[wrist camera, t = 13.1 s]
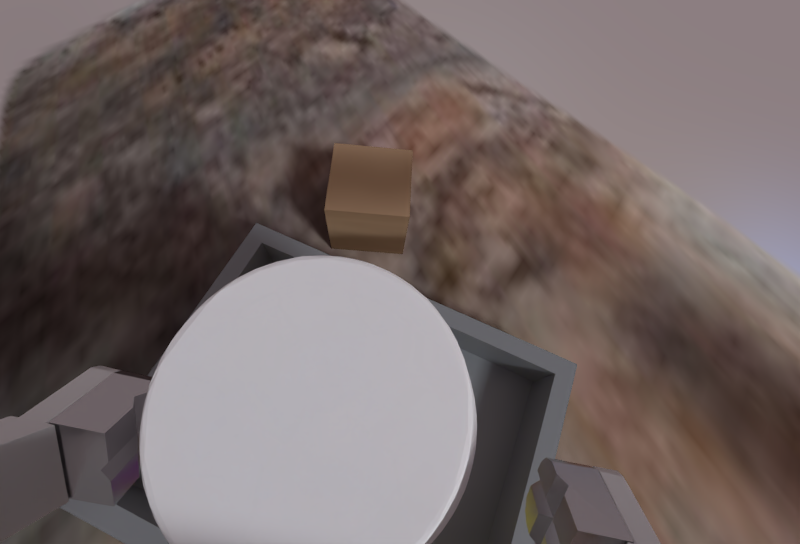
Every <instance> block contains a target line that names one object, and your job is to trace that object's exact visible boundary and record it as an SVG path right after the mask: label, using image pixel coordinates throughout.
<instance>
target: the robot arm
mask: <svg viewBox="0 0 800 544" xmlns="http://www.w3.org/2000/svg"><path fill="white" fill-rule="evenodd" d="M151 380H152V377H150V376H146V375H142V374H137V373H133V372H129V371H124V370H122V371H121V370H117V369H113V368H109V367H105V366H96V367H91V368H89V369H88V370H87V371H85V372H84V373H82V374H81V375H79V376H78V377H76V378H75V379H74V380H72V381H71V382H69V383H68V384H66V385H65V386H63V387H62V388H61V389H59V390H58V391H56V392H55V393H53V394H52V395H50V396H49V397H48V398H46V399H45V400H43V401H42V402H40V403H39V404H37V405H36V406H35V407H33V408H32V409H30V410H29V411H27V412H26V413H24V414H23V415H22V416H20V417H13V416H9V417H6V418H3V419H0V542H1V541H3V540H5V539H6V538H8V537H10V536H11V535H13V534H15V533H17V532H18V531H20V530H22V529H23V528H25V527H27V526H28V525H30V524H32V523H33V522H35V521H37V520H39V519H40V518H42V517H44V516H45V515H47V514H49V513H50V512H52V511H54V510H55V509H57V508H59V507H61V506H62V505H64V504H66V503H67V502H68V501H69V499H73V500H79V501H85V502H90V503H96V504H102V505H108V506H115V505H116V504H117V502H118V501H119V500H120V499H121V498H122V497H123V495H124V494H125V493H126V492H127V491H128V489H129V488H130V487H131V486H132V485H133V484H134V482H135V481H136V480H137V479H138V478H139V477H140V452H139V438H140V425H141V418H142V411H143V407H144V403H145V398H146V395H147V392H148V388H149V385H150V382H151ZM537 471H538V474H539V477H540V480H539V481H537V482H536V483H534V484H532V485H531V486H530V489H529V492H528V494H527V497H526V508H525V514H526V524H527V528H528V532H529V535H530V537H531V538H532V539H533V540H534V542H535V543H536V544H661V543H660V541H659V539H658V538H657V536H656V534H655V532H654V530H653V529H652V527H651V525H650V523H649V522H648V520H647V518H646V516H645V514H644V513H643V511H642V509H641V507H640V505H639V504H638V502H637V500H636V498H635V497H634V495H633V493H632V491H631V489H630V488H629V486H628V484H627V482H626V480H625V479H624V477H623V476H622V475H621V474H620V473H619V472H618V471H615V470H610V469H605V468H599V467H594V466H593V467H591V466H588V465H583V464H577V463H572V462H567V461H562V460H557V459H552V458H547V457H546V458H545V459H544V460H542V461H541V463H540V466H539V468H538V470H537Z"/></svg>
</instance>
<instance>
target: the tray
mask: <svg viewBox="0 0 800 544" xmlns="http://www.w3.org/2000/svg"><path fill="white" fill-rule="evenodd" d="M317 255H326V256H330V255H328V254H326V253H324V252H321V251H319V250H317V249H315V248H312V247H310V246H308V245H305V244H303V243H301V242H299V241H296V240H294V239H292V238H290V237H287V236H285V235H283V234H281V233H278V232H276V231H274V230H271V229H269V228H267V227H265V226H262V225H260V224H258V223H256V224H255V225H254V227H253V228H252V230H251V231H250V232H249V234H248V235H247V237H246V238H245V239H244V241H243V242H242V244H241V245H240V246H239V248H238V249H237V251H236V252H235V253H234V255H233V256H232V258H231V259H230V260H229V262H228V263H227V265H226V266H225V267H224V269H223V270H222V272H221V273H220V274H219V276H218V277H217V279H216V280H215V281H214V283H213V284H212V286H211V287H210V289H209V290H208V291H207V293H206V294H205V296H204V297H203V298H202V300H201V301H200V303H199V304H198V305H197V307H196V308H195V310H194V311H193V312H192V314H193V313H194V312H195V311H196V310H197V309H198V308H199V307H200V306H201V305H202V304H203V303H204V302H205V301H206V300H207V299H209V298H210V297H211V296H212V295H214V294H215V293H216V292H217V291H219V290H220V289H221V288H223V287H224V286H225V285H227V284H228V283H230V282H232V281H233V280H235V279H236V278H238V277H240V276H242V275H244V274H246V273H248V272H250V271H252V270H254V269H257V268H260V267H263V266H265V265H268V264H271V263H274V262H277V261H281V260H286V259H291V258H295V257H301V256H317ZM427 299H428V298H427ZM428 300H429V301H430V302H431V303H432V305H433V306H434V307H435V308H436V309H437V311H438V312H439V313H440V315H441V316H442V318H443V319H444V320H445V322H446V323H447V324H448V326H449V327H450V329H451V331H452V333H453V334H454V336H455V338H456V340H457V342H458V345H459V347H460V350H461V352H462V354H463V357H464V359H465V363H466V366H467V370H468V374H469V377H470V380H471V384H472V389H473V393H474V397H475V405H476V414H477V439H476V450H475V455H474V461H473V465H472V469H471V473H470V477H469V480H468V483H467V486H466V489H465V492H464V494H463V496H462V498H461V500H460V502H459V504H458V506H457V508H456V510H455V512H454V514H453V515H452V517H451V519H450V520H449V521H448V523H447V524H446V526H445V527H444V529H443V530H442V532H441V533H440V534H439V535H438V536H437V538H436V539H435V540H434V541H433V542H432V543H431V544H535V542H534V540H533V539H532V538H531V537H530V535H529V532H528V528H527V524H526V514H525V508H526V497H527V494H528V492H529V489H530V486H531V485H532V484H534V483H536V482H537V481H539V480H540V477H539V474H538V471H537V470H538V468H539V466H540V463H541V461H542V460H544V459H545V458H546V457H547V458H552V459H555V456H556V452H557V448H558V443H559V439H560V435H561V431H562V427H563V422H564V418H565V414H566V410H567V405H568V401H569V397H570V393H571V389H572V384H573V380H574V376H575V372H576V367H577V364H575V363H573V362H571V361H568V360H566V359H564V358H562V357H559V356H557V355H555V354H553V353H550V352H548V351H546V350H543V349H541V348H539V347H537V346H534V345H532V344H530V343H528V342H525V341H523V340H521V339H519V338H516V337H514V336H512V335H509V334H507V333H505V332H503V331H500V330H498V329H496V328H494V327H491V326H489V325H487V324H485V323H482V322H480V321H478V320H475V319H473V318H471V317H469V316H466V315H464V314H462V313H460V312H457V311H455V310H453V309H451V308H448V307H446V306H444V305H441V304H439V303H437V302H435V301H432V300H430V299H428ZM192 314H191V315H192ZM191 315H190V317H191ZM190 317H189V318H190ZM189 318H188V319H189ZM188 319H187V320H188ZM186 322H187V321H186ZM186 322H185V323H186ZM165 351H166V350H165ZM163 354H164V353H163ZM163 354H162V356H163ZM162 356H161V357H162ZM161 357H160V359H161ZM160 359H159V360H158V361H157V363H156V364H155V366H154V367H153V368H152V370H151V371H150V373H149V374H148V375H147V376H150V377H153V375H154V373H155V370H156V368H157V366H158V364H159V361H160ZM60 508H62V509H64V510H65V511H67V512H69V513H71V514H73V515H74V516H76V517H78V518H80V519H82V520H83V521H85V522H87V523H89V524H91V525H92V526H94V527H96V528H98V529H100V530H101V531H103V532H105V533H107V534H109V535H110V536H112V537H114V538H116V539H118V540H119V541H121V542H123V543H125V544H169V543H168V541H167V540H166V538H165V537H164V535H163V534H162V532H161V530H160V528H159V526H158V525H157V523H156V521H155V519H154V516H153V514H152V511H151V508H150V506H149V503H148V499H147V496H146V493H145V490H144V487H143V482H142V475H141V468H140V477H139V478H138V479H137V480H136V481H135V482H134V484H133V485H132V486H131V487H130V488H129V489H128V491H127V492H126V493H125V494H124V495H123V497H122V498H121V499H120V500H119V501H118V502H117V504H116V505H115V506H108V505H102V504H96V503H90V502H85V501H79V500H73V499H69V501H68V502H67V503H66V504H64V505H62V506H61V507H60Z"/></svg>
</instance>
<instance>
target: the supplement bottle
mask: <svg viewBox="0 0 800 544" xmlns="http://www.w3.org/2000/svg"><path fill="white" fill-rule="evenodd" d="M476 439H477V414H476V405H475V397H474V393H473V389H472V384H471V380H470V377H469V374H468V370H467V366H466V363H465V359H464V357H463V354H462V352H461V350H460V347H459V345H458V342H457V340H456V338H455V336H454V334H453V333H452V331H451V329H450V327H449V326H448V324H447V323H446V322H445V320H444V319H443V318H442V316H441V315H440V313H439V312H438V311H437V309H436V308H435V307H434V306H433V305H432V303H431V302H430V301H429V300H428V299H427V298H426V297H425V296H423V295H422V294H421V293H420V292H419V291H418V290H416V289H415V288H414V287H413V286H412V285H410V284H409V283H407V282H406V281H405V280H403V279H402V278H400V277H398V276H396V275H395V274H393V273H391V272H389V271H387V270H385V269H383V268H380V267H378V266H375V265H373V264H370V263H367V262H365V261H361V260H357V259H352V258H346V257H340V256H326V255H317V256H301V257H295V258H291V259H286V260H281V261H277V262H274V263H271V264H268V265H265V266H263V267H260V268H257V269H254V270H252V271H250V272H248V273H246V274H244V275H242V276H240V277H238V278H236V279H235V280H233V281H232V282H230V283H228V284H227V285H225V286H224V287H223V288H221V289H220V290H219V291H217V292H216V293H215V294H214V295H212V296H211V297H210V298H209V299H207V300H206V301H205V302H204V303H203V304H202V305H201V306H200V307H199V308H198V309H197V310H196V311H195V312H194V313H193V314H192V315H191V317H190V318H189V319H188V320H187V322H186V323H185V324H184V325H183V326H182V328H181V329H180V330H179V331H178V332H177V334H176V335H175V336H174V338H173V339H172V341H171V342H170V344H169V346H168V347H167V349H166V351H165V352H164V354H163V356H162V357H161V359H160V361H159V364H158V366H157V368H156V370H155V373H154V375H153V377H152V380H151V382H150V385H149V388H148V392H147V395H146V398H145V403H144V407H143V411H142V418H141V425H140V438H139V452H140V468H141V475H142V482H143V487H144V490H145V493H146V496H147V499H148V503H149V506H150V508H151V511H152V514H153V516H154V519H155V521H156V523H157V525H158V526H159V528H160V530H161V532H162V534H163V535H164V537H165V538H166V540H167V541H168V543H169V544H431V543H432V542H433V541H434V540H435V539H436V538H437V536H438V535H439V534H440V533H441V532H442V530H443V529H444V527H445V526H446V524H447V523H448V521H449V520H450V519H451V517H452V515H453V514H454V512H455V510H456V508H457V506H458V504H459V502H460V500H461V498H462V496H463V494H464V492H465V489H466V486H467V483H468V480H469V477H470V473H471V469H472V465H473V461H474V455H475V450H476Z"/></svg>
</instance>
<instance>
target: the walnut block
mask: <svg viewBox="0 0 800 544" xmlns="http://www.w3.org/2000/svg"><path fill="white" fill-rule="evenodd" d="M412 153H413V151H412V150H402V149H391V148H381V147H370V146H360V145H349V144H339V143H334V149H333V156H332V162H331V169H330V175H329V182H328V188H327V195H326V201H325V208H324V211H325V217H326V222H327V227H328V233H329V238H330V244H331V248H334V249H346V250H359V251H371V252H384V253H397V254H403V249H404V243H405V238H406V233H407V228H408V223H409V217H410V197H411V175H412Z"/></svg>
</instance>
